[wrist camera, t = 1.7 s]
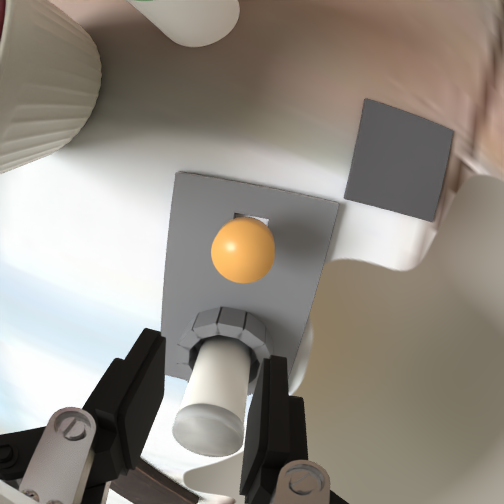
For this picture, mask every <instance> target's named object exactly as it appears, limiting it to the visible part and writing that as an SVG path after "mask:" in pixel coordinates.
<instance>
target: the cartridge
mask: <svg viewBox="0 0 504 504" xmlns="http://www.w3.org/2000/svg"><path fill="white" fill-rule="evenodd" d="M251 354H252V348H251V347H249V346H248V345H246V344H245V343H244V342H242V341H241V340H240V339H238V338H233V337H228V336H223V335H215V336H211V337H206V338H204V339H203V342H202V345H201V348H200V351H199V354H198V357H197V360H196V363H195V366H194V369H193V372H192V374H191V377H190V380H189V383H188V386H187V389H186V392H185V395H184V398H183V401H182V404H181V407H180V410H179V412H178V413H177V415H176V418H175V421H174V424H173V427H172V433H173V436H174V438H175V439H176V441H177V442H178V443H179V444H180V445H181V446H183V447H184V448H186V449H187V450H189V451H191V452H194V453H196V454H199V455H203V456H209V457H223V456H228V455H231V454H234V453H236V452H237V451H238V450H239V449H240V448H241V447H242V445H243V438H244V417H245V408H246V399H247V390H248V382H249V373H250V363H251Z"/></svg>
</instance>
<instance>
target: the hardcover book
mask: <svg viewBox="0 0 504 504" xmlns="http://www.w3.org/2000/svg"><path fill="white" fill-rule="evenodd" d="M110 489H112V490H113V491H115V492H116V493H118V494H119V495H121V496H122V497H124V498H126V499H127V500H129V501H130V502H132V503H134V504H197V503H198V500H199V497H198V496H196V495H194V494H193V493H191V492H189V491H188V490H186V489H184V488H183V487H181V486H180V485H178V484H177V483H175V482H173V481H172V480H170V479H169V478H167V477H166V476H164V475H163V474H161V473H160V472H158V471H157V470H156V469H154V468H153V467H151V466H150V465H149V464H147V463H146V462H144V461H143V460H142V459H140V458H139V461H138V463H137V466H136V468H135V470H134V471H133V470H130V469H129V471H128V474H127V476H124V475H121V474H119V477H118V479H115V480H112V481H111V483H110Z"/></svg>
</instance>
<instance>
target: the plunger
mask: <svg viewBox="0 0 504 504" xmlns="http://www.w3.org/2000/svg"><path fill="white" fill-rule="evenodd" d="M211 256H212V261H213V264H214V266H215V268H216V269H217V271H218V272H219V273H220V274H221V275H222V276H224V277H225V278H226V279H228V280H230V281H233V282H236V283H251V282H255V281H257V280H259V279H261V278H263V277H264V276H265V275H266V274H267V273H268V272H269V271H270V269H271V267H272V265H273V262H274V257H275V243H274V238H273V235H272V233H271V231H270V229H269V228H268V227H267V226H266V225H265V224H264V223H263V222H261V221H259V220H258V219H255V218H252V217H237V218H234V219H232V220H230V221H228V222H227V223H226V224H224V225H223V226H222V228H221V229H220V231H219V232H218V234H217V236H216V237H215V239H214V241H213V244H212V248H211Z"/></svg>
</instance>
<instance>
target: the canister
mask: <svg viewBox="0 0 504 504" xmlns="http://www.w3.org/2000/svg"><path fill="white" fill-rule="evenodd" d="M101 67H102V64H101V62H100V54H99V52H98V51H97V46H96V44H95V43H94V42H93V40H92V38H91V36H90V35H89V34H88V33H87V32H86V31H85V30H84V29H83V28H82V27H81V26H80V25H79V24H78V23H76V22H75V21H74V20H73V19H72V18H70V17H69V16H68V15H67V14H65V13H64V12H63V11H62V10H60V9H59V8H58V7H56V6H55V5H54V4H52V3H51V2H49V1H48V0H0V174H2V173H5V172H7V171H10V170H12V169H15V168H18V167H20V166H23V165H25V164H28V163H30V162H33V161H35V160H38V159H40V158H43V157H46V156H48V155H50V154H52V153H53V152H55V151H58V150H59V149H61V148H62V147H63V146H64V145H65V144H68V143H69V142H70V141H71V140H72V139H73V137H74V136H76V135H77V134H78V133H79V131H80V129H81V128H82V127H83V126H84V125H85V124H86V121H87V119H88V118H89V117H90V116H91V112H92V110H93V108H94V107H95V103H96V100H97V97H98V96H99V88H100V87H101V77H102V73H101Z"/></svg>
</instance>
